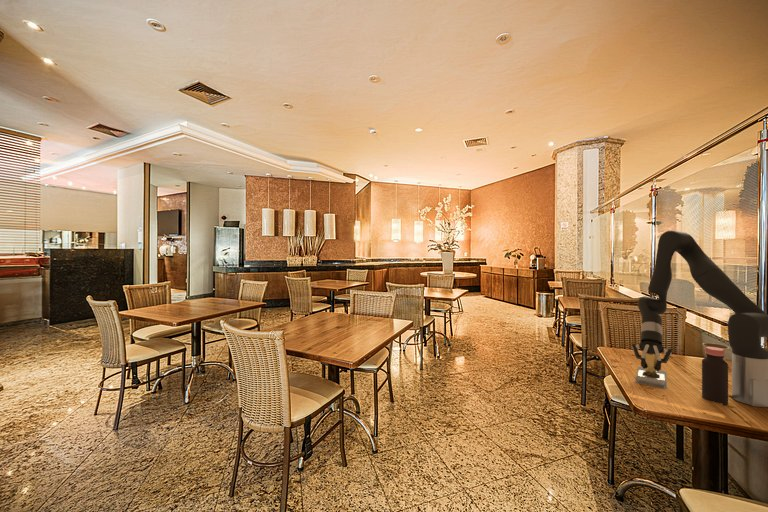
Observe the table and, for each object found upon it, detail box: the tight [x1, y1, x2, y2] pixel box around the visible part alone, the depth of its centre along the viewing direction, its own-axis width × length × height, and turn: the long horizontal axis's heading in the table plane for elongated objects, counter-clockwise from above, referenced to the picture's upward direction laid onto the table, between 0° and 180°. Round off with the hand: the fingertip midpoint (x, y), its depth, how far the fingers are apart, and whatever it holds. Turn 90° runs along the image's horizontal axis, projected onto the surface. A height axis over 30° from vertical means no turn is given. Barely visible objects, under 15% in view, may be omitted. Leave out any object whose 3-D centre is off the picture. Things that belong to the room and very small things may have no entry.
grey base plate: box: [634, 366, 668, 390], centre depth 140 cm, size 24×10×1 cm, turn 139°
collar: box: [637, 370, 665, 387], centre depth 136 cm, size 9×9×2 cm
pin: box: [645, 353, 657, 378], centre depth 136 cm, size 4×4×10 cm
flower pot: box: [702, 342, 730, 362], centre depth 159 cm, size 9×9×9 cm
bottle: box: [701, 347, 729, 407], centre depth 119 cm, size 7×7×20 cm
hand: (650, 368), depth 135 cm, fingers closed on pin, 4 cm apart
